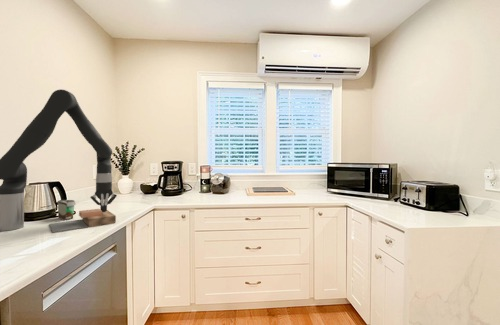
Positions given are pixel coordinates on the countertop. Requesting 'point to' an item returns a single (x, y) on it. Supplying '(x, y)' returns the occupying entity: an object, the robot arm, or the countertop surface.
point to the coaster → (90, 213)
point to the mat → (67, 226)
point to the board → (100, 219)
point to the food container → (66, 209)
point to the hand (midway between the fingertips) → (103, 211)
